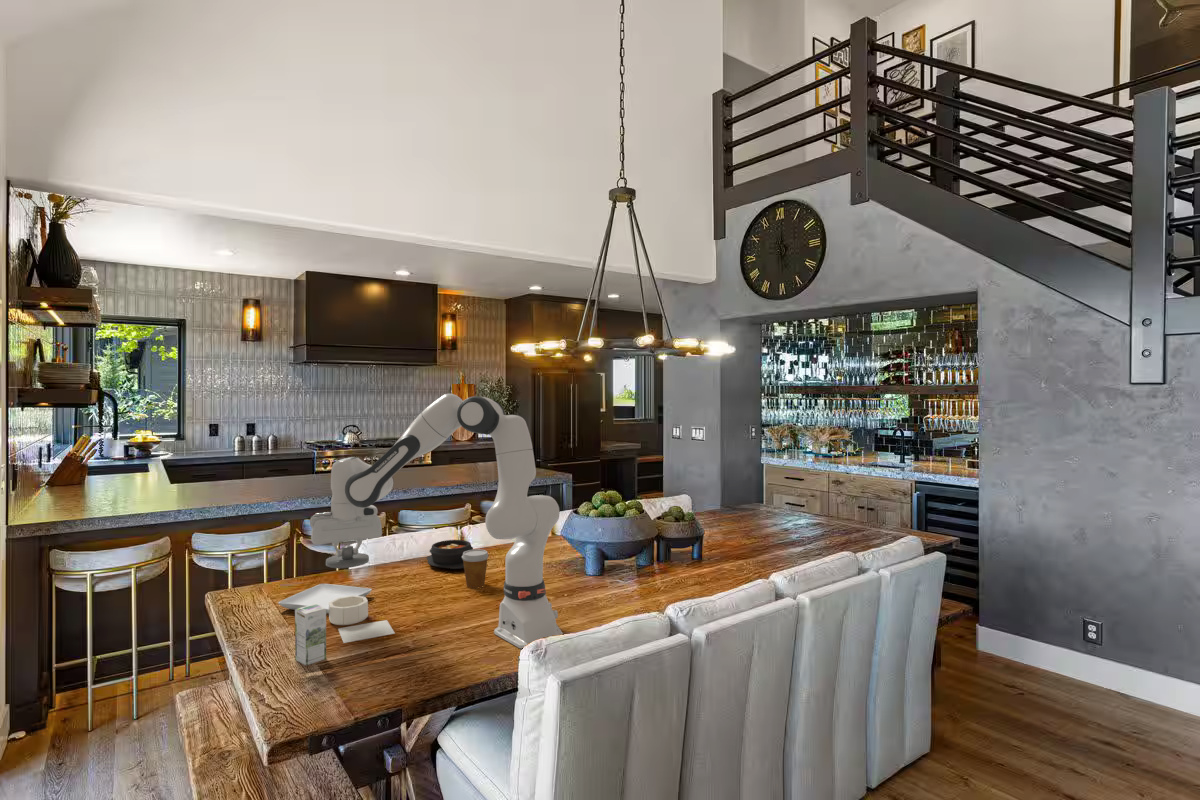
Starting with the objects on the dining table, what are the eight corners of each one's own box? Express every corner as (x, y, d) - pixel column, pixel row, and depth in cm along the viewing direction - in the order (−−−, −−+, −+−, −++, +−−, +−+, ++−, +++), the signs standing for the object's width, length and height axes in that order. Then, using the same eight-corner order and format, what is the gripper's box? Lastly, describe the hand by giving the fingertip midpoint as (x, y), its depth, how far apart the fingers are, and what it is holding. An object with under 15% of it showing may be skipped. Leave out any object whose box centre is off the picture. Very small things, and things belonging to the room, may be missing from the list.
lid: (372, 564, 200) (372, 548, 200) (328, 570, 194) (328, 554, 194) (365, 554, 211) (365, 539, 211) (323, 560, 205) (323, 544, 205)
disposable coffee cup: (491, 581, 241) (491, 549, 241) (484, 590, 232) (484, 556, 231) (466, 581, 242) (466, 548, 242) (458, 589, 233) (458, 555, 232)
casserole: (488, 567, 260) (488, 546, 260) (446, 576, 248) (446, 554, 247) (456, 554, 279) (456, 534, 278) (415, 563, 266) (415, 542, 266)
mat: (395, 635, 191) (394, 633, 191) (343, 645, 184) (343, 642, 184) (386, 622, 202) (386, 619, 202) (337, 631, 195) (337, 628, 195)
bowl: (370, 623, 201) (369, 604, 201) (332, 630, 196) (331, 610, 196) (364, 612, 210) (363, 593, 210) (327, 618, 205) (327, 599, 205)
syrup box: (316, 655, 178) (315, 602, 178) (327, 661, 174) (326, 607, 174) (295, 662, 174) (294, 608, 173) (306, 668, 170) (305, 613, 169)
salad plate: (373, 597, 226) (373, 587, 226) (332, 619, 206) (332, 608, 205) (321, 592, 232) (321, 582, 232) (276, 613, 211) (276, 602, 211)
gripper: (310, 515, 194) (311, 562, 195) (382, 508, 204) (383, 553, 204) (308, 511, 200) (309, 557, 200) (378, 505, 209) (379, 548, 210)
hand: (347, 555), depth 202 cm, fingers closed on lid, 3 cm apart
